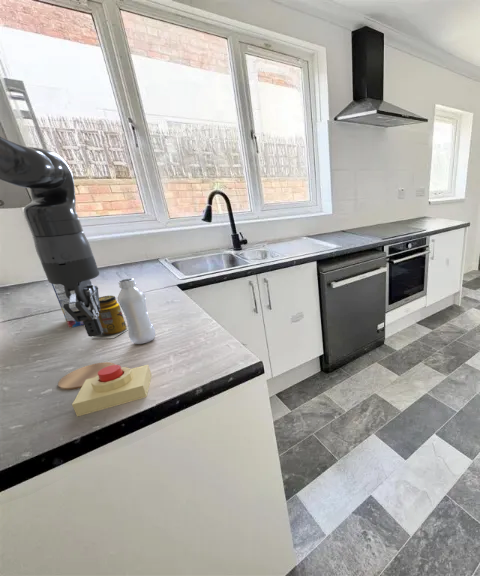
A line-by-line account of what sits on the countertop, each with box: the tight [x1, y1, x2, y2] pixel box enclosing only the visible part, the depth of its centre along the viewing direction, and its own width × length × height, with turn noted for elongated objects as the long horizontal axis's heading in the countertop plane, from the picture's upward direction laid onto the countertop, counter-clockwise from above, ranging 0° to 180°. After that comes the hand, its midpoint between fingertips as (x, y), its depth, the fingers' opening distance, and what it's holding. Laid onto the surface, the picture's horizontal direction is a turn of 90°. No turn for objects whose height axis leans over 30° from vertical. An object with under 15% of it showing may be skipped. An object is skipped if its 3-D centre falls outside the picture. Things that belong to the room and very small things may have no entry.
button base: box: [71, 364, 153, 417], centre depth 71 cm, size 12×10×5 cm
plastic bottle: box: [117, 277, 157, 345], centre depth 93 cm, size 6×7×20 cm
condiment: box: [91, 295, 129, 340], centre depth 100 cm, size 7×8×12 cm
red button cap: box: [98, 364, 123, 382], centre depth 70 cm, size 4×4×2 cm
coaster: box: [57, 361, 116, 391], centre depth 79 cm, size 11×11×1 cm
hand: (96, 334), depth 67 cm, fingers closed
